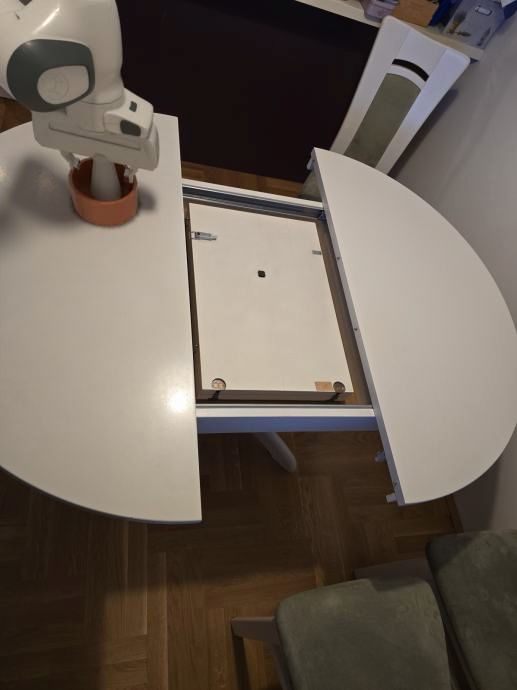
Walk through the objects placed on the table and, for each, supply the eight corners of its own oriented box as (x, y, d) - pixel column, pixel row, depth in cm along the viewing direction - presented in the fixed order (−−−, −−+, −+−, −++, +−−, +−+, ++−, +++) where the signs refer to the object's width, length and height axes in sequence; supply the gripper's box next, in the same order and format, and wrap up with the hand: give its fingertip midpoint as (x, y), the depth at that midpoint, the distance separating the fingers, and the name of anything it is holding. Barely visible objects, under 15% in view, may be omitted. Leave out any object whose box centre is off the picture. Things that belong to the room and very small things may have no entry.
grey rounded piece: (116, 215, 78) (112, 161, 66) (87, 206, 77) (78, 150, 66) (126, 196, 81) (123, 140, 69) (98, 186, 80) (91, 129, 68)
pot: (66, 219, 75) (61, 195, 70) (81, 175, 81) (76, 150, 75) (132, 231, 78) (131, 209, 73) (141, 188, 83) (141, 165, 78)
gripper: (15, 97, 57) (37, 173, 69) (157, 132, 62) (155, 198, 74) (28, 72, 60) (47, 149, 72) (162, 108, 65) (159, 175, 77)
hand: (102, 174), depth 73 cm, fingers open, 8 cm apart
